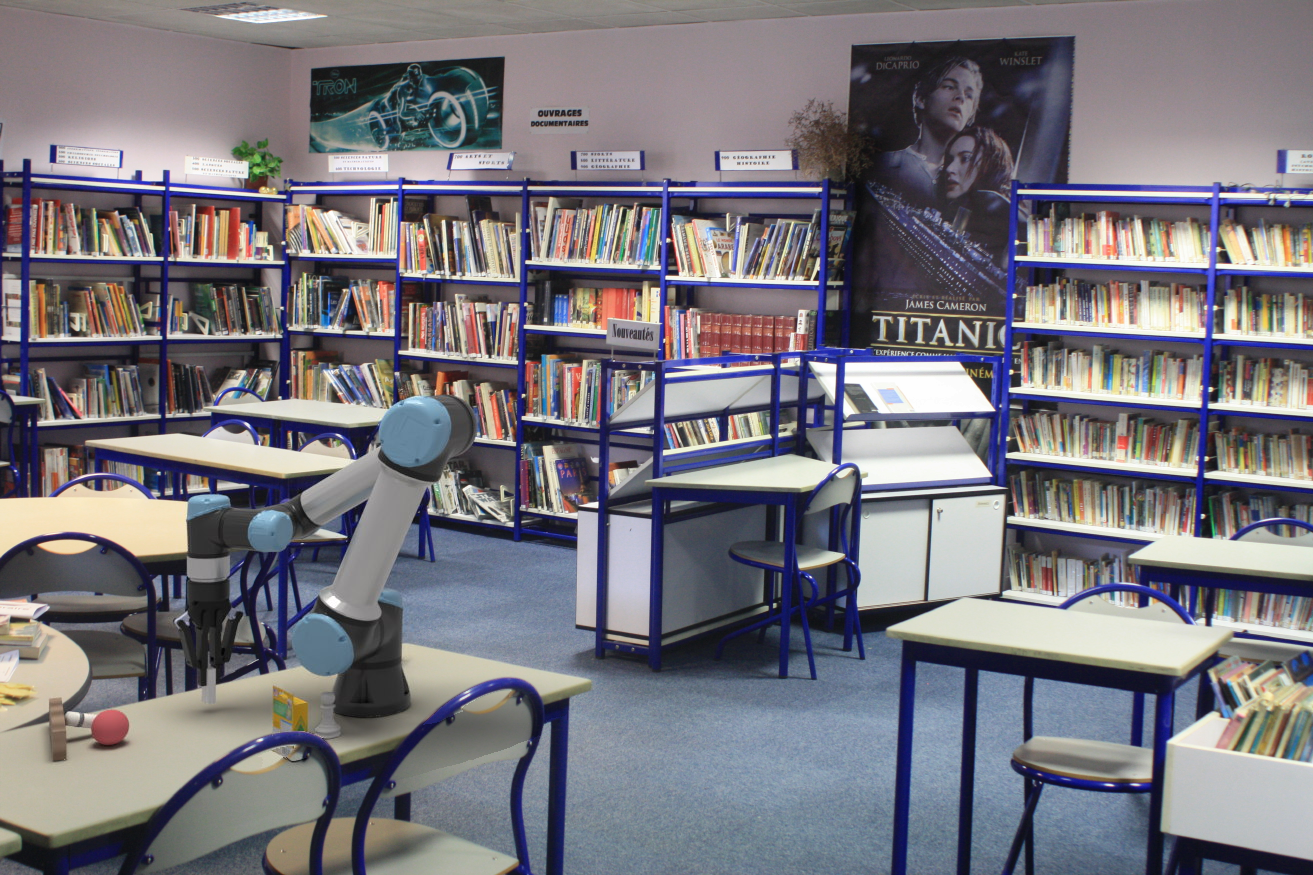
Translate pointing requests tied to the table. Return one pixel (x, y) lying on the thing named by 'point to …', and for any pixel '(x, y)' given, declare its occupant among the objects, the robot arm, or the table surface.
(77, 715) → the pin
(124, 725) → the ball
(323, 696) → the chess piece
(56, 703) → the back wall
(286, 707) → the crayon box
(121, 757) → the table surface
